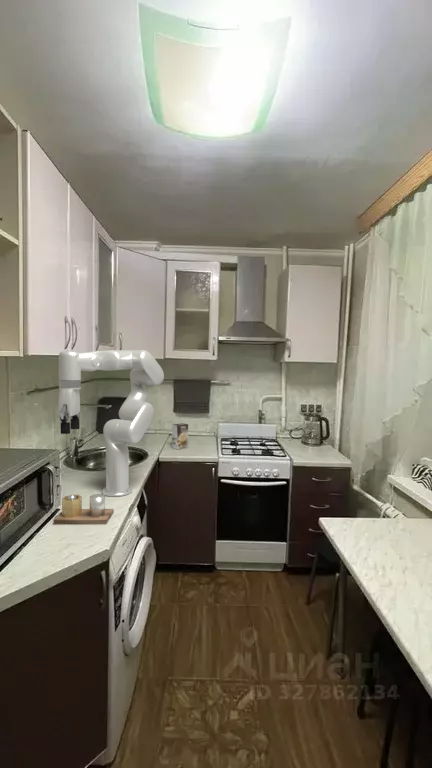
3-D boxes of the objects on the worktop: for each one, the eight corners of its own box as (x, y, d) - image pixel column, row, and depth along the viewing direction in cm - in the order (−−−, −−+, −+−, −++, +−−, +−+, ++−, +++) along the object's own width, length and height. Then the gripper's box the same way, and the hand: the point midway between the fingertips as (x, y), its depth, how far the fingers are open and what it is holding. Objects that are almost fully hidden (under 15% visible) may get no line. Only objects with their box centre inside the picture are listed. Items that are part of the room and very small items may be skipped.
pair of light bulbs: (70, 511, 135) (70, 492, 134) (106, 511, 135) (106, 492, 135) (64, 517, 129) (64, 497, 129) (102, 517, 130) (102, 497, 129)
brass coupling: (66, 510, 135) (66, 494, 135) (83, 510, 135) (83, 494, 135) (60, 517, 129) (59, 500, 129) (77, 517, 129) (77, 500, 129)
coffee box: (177, 449, 243) (177, 425, 243) (171, 448, 248) (171, 424, 247) (188, 447, 250) (188, 424, 249) (182, 446, 254) (182, 423, 254)
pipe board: (64, 512, 137) (64, 508, 137) (113, 512, 137) (113, 508, 137) (53, 524, 127) (53, 520, 127) (106, 524, 127) (106, 520, 127)
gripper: (68, 383, 144) (68, 427, 145) (49, 386, 127) (50, 435, 128) (87, 384, 145) (88, 427, 145) (71, 386, 127) (72, 435, 128)
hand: (70, 431), depth 137 cm, fingers open, 9 cm apart
